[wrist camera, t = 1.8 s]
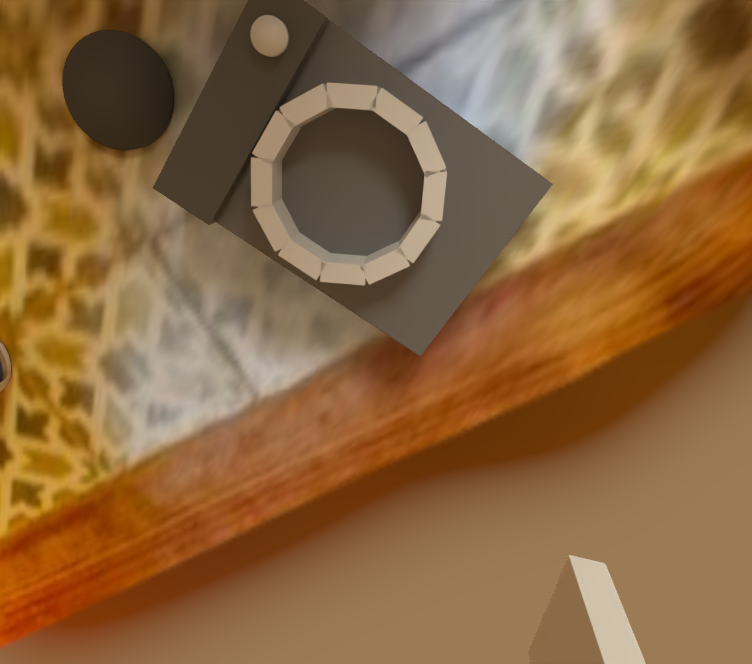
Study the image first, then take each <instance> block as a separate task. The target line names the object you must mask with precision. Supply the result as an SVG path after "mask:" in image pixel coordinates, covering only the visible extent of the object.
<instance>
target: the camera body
mask: <svg viewBox="0 0 752 664" xmlns="http://www.w3.org/2000/svg"><path fill="white" fill-rule="evenodd" d="M551 186H552V183H551V182H549V181H548V180H547V179H545V178H544V177H542V176H541V175H540V174H538V173H537V172H536V171H534V170H533V169H532V168H530V167H529V166H527V165H526V164H525V163H523V162H522V161H521V160H519V159H518V158H517V157H515V156H514V155H512V154H511V153H510V152H508V151H507V150H506V149H504V148H503V147H501V146H500V145H499V144H497V143H496V142H495V141H493V140H492V139H491V138H489V137H488V136H486V135H485V134H484V133H482V132H481V131H480V130H478V129H477V128H475V127H474V126H473V125H471V124H470V123H469V122H467V121H466V120H465V119H463V118H462V117H460V116H459V115H458V114H456V113H455V112H454V111H452V110H451V109H449V108H448V107H447V106H445V105H444V104H443V103H441V102H440V101H439V100H437V99H436V98H434V97H433V96H432V95H430V94H429V93H428V92H426V91H425V90H424V89H422V88H421V87H419V86H418V85H417V84H415V83H414V82H413V81H411V80H410V79H408V78H407V77H406V76H404V75H403V74H402V73H400V72H399V71H398V70H396V69H395V68H393V67H392V66H391V65H389V64H388V63H387V62H385V61H384V60H382V59H381V58H380V57H378V56H377V55H376V54H374V53H373V52H372V51H370V50H369V49H367V48H366V47H365V46H363V45H362V44H361V43H359V42H358V41H356V40H355V39H354V38H352V37H351V36H350V35H348V34H347V33H346V32H344V31H343V30H341V29H340V28H339V27H337V26H336V25H335V24H333V23H332V22H331V21H329V20H328V19H327V18H326V17H325V16H324V15H322V14H321V13H319V12H318V11H317V10H315V9H314V8H313V7H311V6H310V5H309V4H307V3H306V2H304V1H303V0H249V1H248V3H247V4H246V6H245V8H244V10H243V12H242V14H241V16H240V18H239V20H238V22H237V24H236V26H235V28H234V30H233V32H232V34H231V36H230V38H229V40H228V42H227V44H226V46H225V48H224V49H223V51H222V53H221V55H220V57H219V59H218V61H217V63H216V65H215V67H214V69H213V71H212V73H211V75H210V77H209V79H208V81H207V83H206V85H205V87H204V89H203V91H202V93H201V95H200V96H199V98H198V100H197V102H196V104H195V106H194V108H193V110H192V112H191V114H190V116H189V118H188V120H187V122H186V124H185V126H184V128H183V130H182V132H181V134H180V136H179V138H178V140H177V141H176V143H175V145H174V147H173V149H172V151H171V153H170V155H169V157H168V159H167V161H166V163H165V165H164V167H163V169H162V171H161V173H160V175H159V177H158V179H157V181H156V183H155V185H154V187H153V188H154V189H155V190H157V191H158V192H160V193H161V194H163V195H164V196H166V197H167V198H169V199H170V200H172V201H173V202H175V203H176V204H178V205H180V206H181V207H183V208H184V209H186V210H187V211H189V212H190V213H192V214H193V215H195V216H196V217H198V218H199V219H201V220H202V221H204V222H205V223H207V224H208V225H210V224H212V223H214V222H217V223H219V224H220V225H222V226H223V227H225V228H226V229H228V230H229V231H231V232H232V233H234V234H235V235H237V236H238V237H240V238H241V239H243V240H244V241H246V242H248V243H249V244H251V245H252V246H254V247H255V248H257V249H258V250H260V251H261V252H263V253H264V254H266V255H267V256H269V257H270V258H272V259H273V260H275V261H276V262H278V263H279V264H281V265H282V266H284V267H285V268H287V269H288V270H290V271H292V272H293V273H295V274H296V275H298V276H299V277H301V278H302V279H304V280H305V281H307V282H308V283H310V284H311V285H313V286H314V287H316V288H317V289H319V290H320V291H322V292H323V293H325V294H326V295H328V296H329V297H331V298H332V299H334V300H336V301H337V302H339V303H340V304H342V305H343V306H345V307H346V308H348V309H349V310H351V311H352V312H354V313H355V314H357V315H358V316H360V317H361V318H363V319H364V320H366V321H367V322H369V323H370V324H372V325H373V326H375V327H376V328H378V329H380V330H381V331H383V332H384V333H386V334H387V335H389V336H390V337H392V338H393V339H395V340H396V341H398V342H399V343H401V344H402V345H404V346H405V347H407V348H408V349H410V350H411V351H413V352H414V353H416V354H417V355H419V356H421V355H422V353H423V352H424V351H425V350H426V348H427V347H428V346H429V344H430V343H431V342H432V340H433V339H434V338H435V337H436V335H437V334H438V333H439V331H440V330H441V329H442V327H443V326H444V325H445V324H446V322H447V321H448V320H449V318H450V317H451V316H452V314H453V313H454V312H455V311H456V309H457V308H458V307H459V305H460V304H461V303H462V301H463V300H464V299H465V298H466V296H467V295H468V294H469V292H470V291H471V290H472V288H473V287H474V286H475V285H476V283H477V282H478V281H479V279H480V278H481V277H482V275H483V274H484V273H485V272H486V270H487V269H488V268H489V266H490V265H491V264H492V262H493V261H494V260H495V259H496V257H497V256H498V255H499V253H500V252H501V251H502V249H503V248H504V247H505V246H506V244H507V243H508V242H509V240H510V239H511V238H512V236H513V235H514V234H515V233H516V231H517V230H518V229H519V227H520V226H521V225H522V223H523V222H524V221H525V220H526V218H527V217H528V216H529V214H530V213H531V212H532V210H533V209H534V208H535V207H536V205H537V204H538V203H539V201H540V200H541V199H542V197H543V196H544V195H545V194H546V192H547V191H548V190H549V188H550V187H551Z"/></svg>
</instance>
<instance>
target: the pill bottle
mask: <svg viewBox="0 0 752 664" xmlns="http://www.w3.org/2000/svg"><path fill="white" fill-rule="evenodd" d="M10 376H11V362H10V357H9V355H8V352H7V350H6V348H5V347H4V345H3V344H2V342H1V341H0V392H1V391H2V390H3V389H4V388H5V386H6V385H7V383H8V382H9V379H10Z"/></svg>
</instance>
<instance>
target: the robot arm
mask: <svg viewBox="0 0 752 664" xmlns="http://www.w3.org/2000/svg"><path fill="white" fill-rule="evenodd" d="M528 654H529V660H530V664H646V663H645V661H644V659H643V656H642V654H641V651H640V648H639V646H638V644H637V641H636V639H635V636H634V634H633V631H632V629H631V626H630V624H629V621H628V619H627V616H626V614H625V611H624V609H623V607H622V604H621V602H620V599H619V597H618V594H617V592H616V589H615V587H614V584H613V582H612V579H611V577H610V574H609V572H608V570H607V567H606V565H605V563H601V562H597V561H593V560H588V559H584V558H580V557H575V556H571V555H569V556H568V558H567V560H566V563H565V565H564V568H563V570H562V572H561V575H560V577H559V580H558V582H557V584H556V587H555V589H554V592H553V594H552V596H551V599H550V601H549V604H548V606H547V608H546V611H545V613H544V615H543V618H542V620H541V623H540V625H539V627H538V630H537V632H536V634H535V637H534V639H533V642H532V644H531V646H530V649H529V651H528Z"/></svg>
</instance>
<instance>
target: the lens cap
mask: <svg viewBox="0 0 752 664" xmlns="http://www.w3.org/2000/svg"><path fill="white" fill-rule="evenodd" d="M62 81H63V92H64V97H65V101H66V104H67V106H68V109H69V111H70V113H71V115H72V117H73V119H74V120H75V121H76V123H77V124H78V126H79V127H80V128H81V129H82V130H83V131H84V132H85V133H86V134H87V135H88V136H89V137H91V138H92V139H93V140H95V141H97V142H98V143H100V144H102V145H104V146H107V147H110V148H113V149H120V150H130V149H138V148H141V147H145V146H147V145H149V144H151V143H152V142H154V141H155V140H157V139H158V138H159V137H160V136H161V135H162V134H163V132H164V131H165V130H166V128H167V126H168V124H169V122H170V120H171V117H172V113H173V108H174V90H173V85H172V80H171V77H170V75H169V72H168V70H167V68H166V66H165V64H164V63H163V61H162V59H161V58H160V57H159V55H158V54H157V53H156V52H155V51H154V50H153V49H152V48H151V47H150V46H149V45H148V44H146V43H145V42H144V41H142V40H141V39H139V38H137V37H135V36H133V35H130V34H127V33H124V32H120V31H114V30H103V31H97V32H94V33H91V34H89V35H87V36H85V37H84V38H83V39H81V40H80V41H79V42H78V43H77V44H76V45H75V46H74V47H73V49H72V50H71V51H70V53H69V55H68V57H67V59H66V62H65V65H64V70H63V80H62Z"/></svg>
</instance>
